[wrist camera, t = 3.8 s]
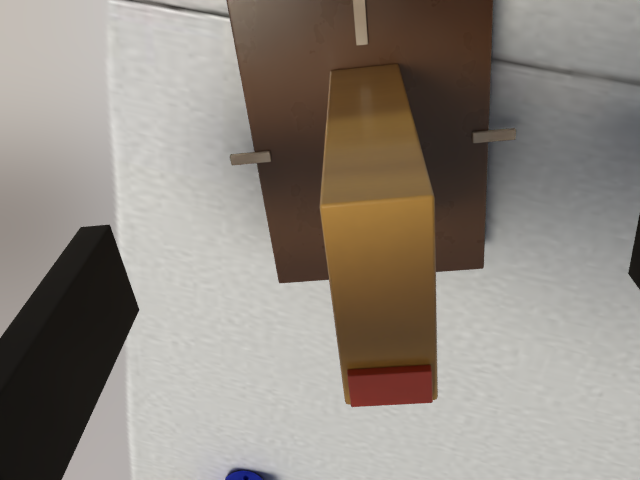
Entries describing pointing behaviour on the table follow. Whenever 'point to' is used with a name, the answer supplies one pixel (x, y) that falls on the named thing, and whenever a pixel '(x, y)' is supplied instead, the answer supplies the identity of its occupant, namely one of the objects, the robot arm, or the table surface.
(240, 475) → the dice
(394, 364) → the thumb turn
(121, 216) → the table surface
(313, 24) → the lock plate
